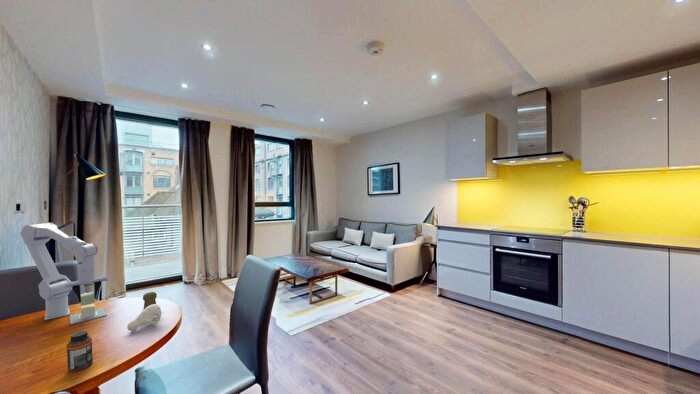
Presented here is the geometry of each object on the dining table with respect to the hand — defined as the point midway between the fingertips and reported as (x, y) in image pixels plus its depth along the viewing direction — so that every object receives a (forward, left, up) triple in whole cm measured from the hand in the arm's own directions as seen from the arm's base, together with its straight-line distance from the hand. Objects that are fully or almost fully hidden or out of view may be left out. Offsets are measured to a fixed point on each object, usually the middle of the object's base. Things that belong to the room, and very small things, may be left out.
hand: (87, 299), depth 129 cm
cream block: (0, 0, -7) cm, 7 cm away
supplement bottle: (+50, -4, -8) cm, 51 cm away
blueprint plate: (0, 0, -8) cm, 8 cm away
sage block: (0, 0, -1) cm, 1 cm away
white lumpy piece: (+33, +16, -8) cm, 38 cm away
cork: (+22, +20, -8) cm, 31 cm away
